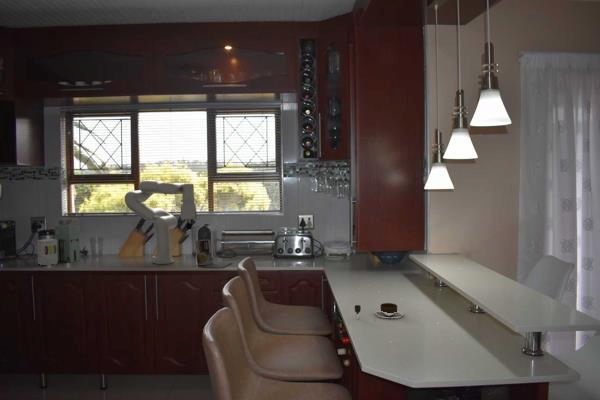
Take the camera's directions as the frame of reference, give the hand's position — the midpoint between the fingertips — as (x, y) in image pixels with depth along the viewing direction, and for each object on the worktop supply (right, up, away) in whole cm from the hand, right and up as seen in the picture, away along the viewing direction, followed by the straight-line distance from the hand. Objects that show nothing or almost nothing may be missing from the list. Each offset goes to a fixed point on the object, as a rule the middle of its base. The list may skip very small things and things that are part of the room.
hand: (189, 229), depth 319 cm
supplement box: (-97, -25, +5) cm, 100 cm away
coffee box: (+11, -24, -2) cm, 26 cm away
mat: (+20, -24, -5) cm, 32 cm away
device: (-90, -24, +17) cm, 94 cm away
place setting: (+108, -30, -116) cm, 161 cm away
